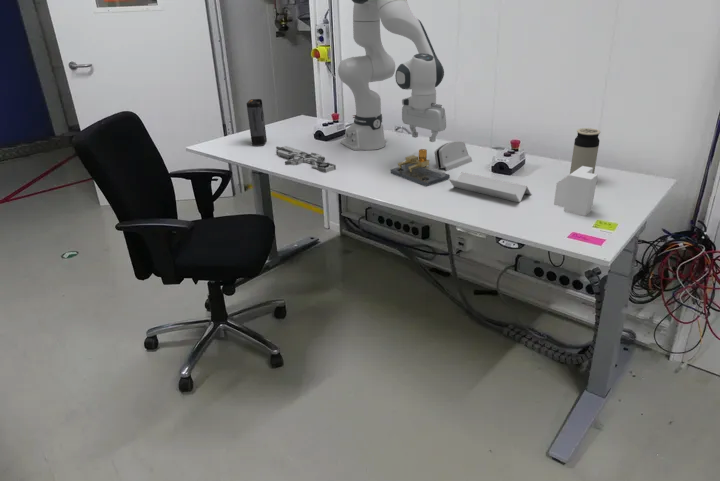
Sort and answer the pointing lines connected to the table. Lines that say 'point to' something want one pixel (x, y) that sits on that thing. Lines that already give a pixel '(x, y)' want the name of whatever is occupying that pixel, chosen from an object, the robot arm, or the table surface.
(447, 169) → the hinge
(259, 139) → the electronic device
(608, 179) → the table surface
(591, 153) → the travel mug
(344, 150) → the table surface
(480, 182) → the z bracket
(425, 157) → the sliding leg
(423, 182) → the bolt plate
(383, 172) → the table surface
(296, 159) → the gun
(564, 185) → the corner bracket
